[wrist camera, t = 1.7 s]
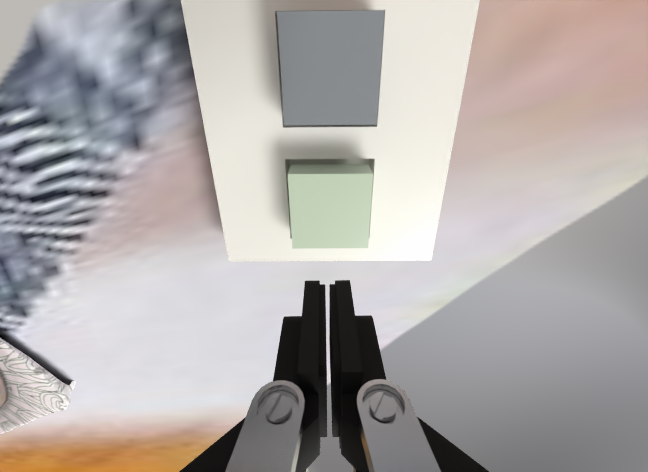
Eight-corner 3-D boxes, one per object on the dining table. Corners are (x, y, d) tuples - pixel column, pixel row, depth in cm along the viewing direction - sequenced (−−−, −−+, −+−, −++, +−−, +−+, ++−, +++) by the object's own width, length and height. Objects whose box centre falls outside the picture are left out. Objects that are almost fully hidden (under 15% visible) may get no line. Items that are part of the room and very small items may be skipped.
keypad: (497, -239, 14) (538, -314, 11) (420, 242, 26) (431, 260, 23) (162, -234, 14) (124, -307, 12) (238, 243, 26) (228, 261, 24)
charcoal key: (376, 19, 16) (384, 10, 14) (370, 119, 19) (376, 124, 17) (283, 20, 16) (277, 11, 14) (289, 120, 19) (284, 125, 17)
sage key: (368, 163, 20) (373, 173, 18) (364, 232, 23) (368, 248, 20) (291, 164, 20) (287, 174, 18) (295, 232, 23) (292, 248, 20)
